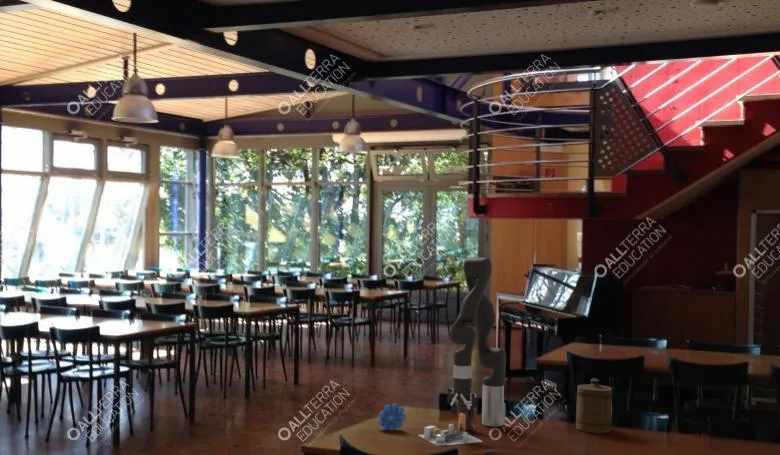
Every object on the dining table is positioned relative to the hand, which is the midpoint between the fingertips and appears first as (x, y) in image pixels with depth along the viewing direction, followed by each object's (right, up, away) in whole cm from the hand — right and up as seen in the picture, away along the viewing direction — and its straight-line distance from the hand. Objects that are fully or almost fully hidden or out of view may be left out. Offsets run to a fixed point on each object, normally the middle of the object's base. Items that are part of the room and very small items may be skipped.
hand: (462, 416), depth 318 cm
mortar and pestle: (+3, -9, +13) cm, 16 cm away
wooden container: (+58, -11, +21) cm, 63 cm away
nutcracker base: (-5, -9, -5) cm, 11 cm away
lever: (-5, -7, -7) cm, 11 cm away
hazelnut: (-10, -7, -6) cm, 14 cm away
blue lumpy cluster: (-28, -9, +9) cm, 31 cm away
